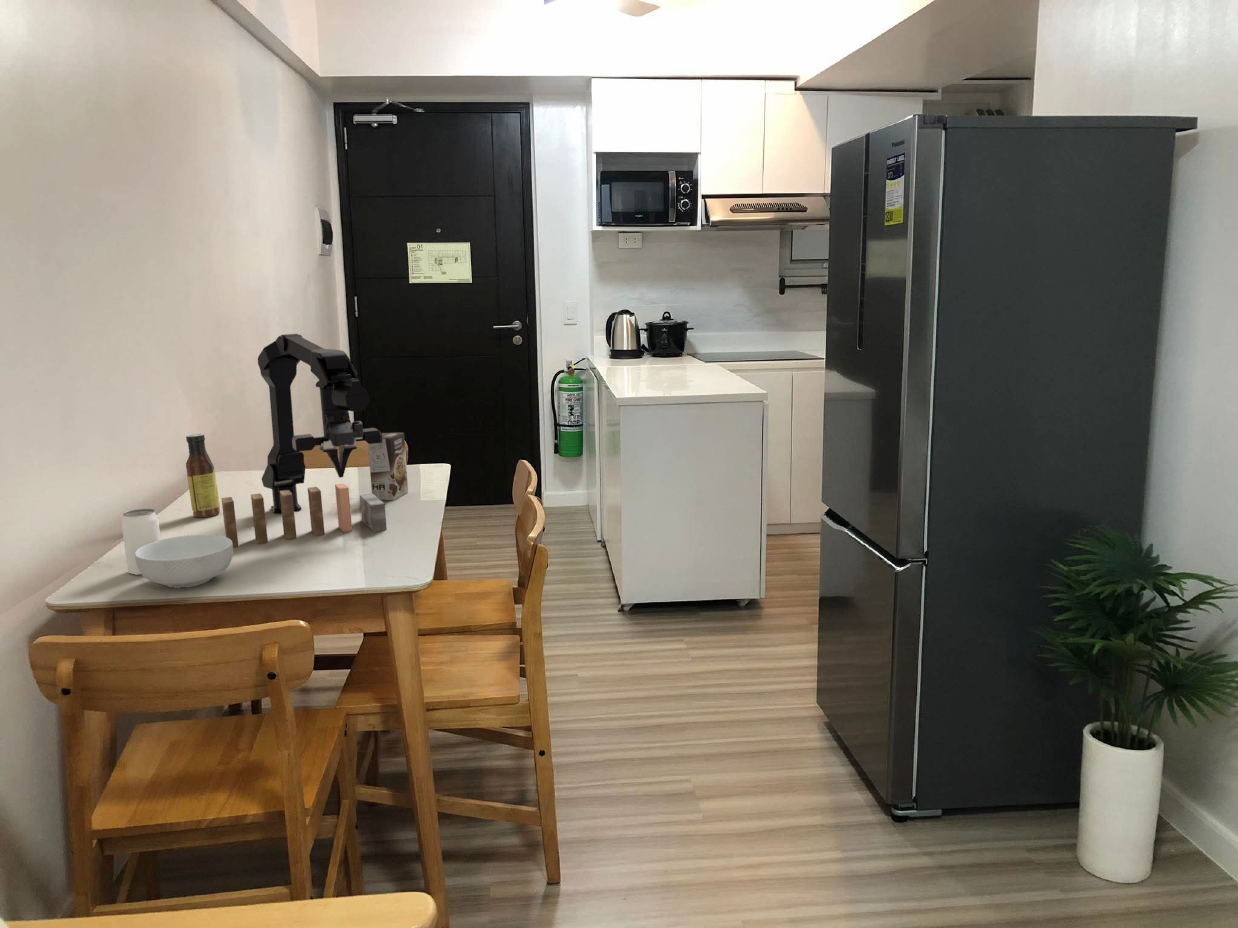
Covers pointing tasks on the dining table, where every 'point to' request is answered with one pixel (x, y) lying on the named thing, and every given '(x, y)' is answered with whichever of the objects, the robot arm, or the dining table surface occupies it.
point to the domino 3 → (288, 514)
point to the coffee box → (388, 467)
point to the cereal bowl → (184, 559)
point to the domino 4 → (316, 511)
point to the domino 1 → (230, 520)
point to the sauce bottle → (201, 478)
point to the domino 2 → (259, 518)
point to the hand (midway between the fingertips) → (340, 477)
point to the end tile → (343, 507)
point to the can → (138, 533)
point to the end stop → (373, 512)
